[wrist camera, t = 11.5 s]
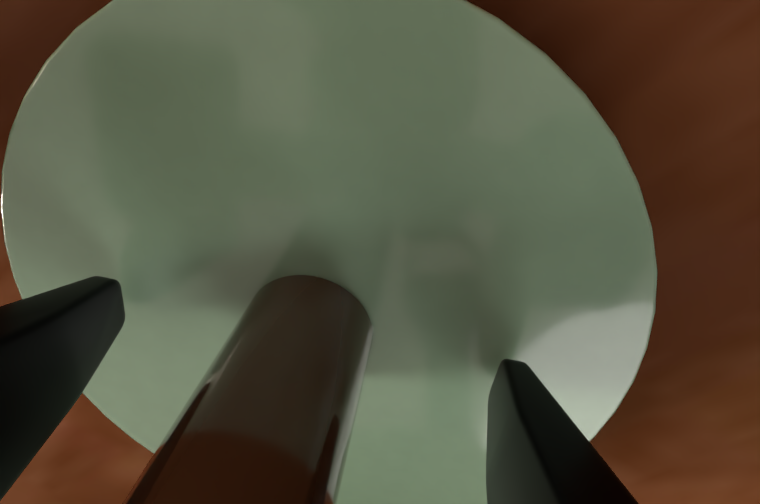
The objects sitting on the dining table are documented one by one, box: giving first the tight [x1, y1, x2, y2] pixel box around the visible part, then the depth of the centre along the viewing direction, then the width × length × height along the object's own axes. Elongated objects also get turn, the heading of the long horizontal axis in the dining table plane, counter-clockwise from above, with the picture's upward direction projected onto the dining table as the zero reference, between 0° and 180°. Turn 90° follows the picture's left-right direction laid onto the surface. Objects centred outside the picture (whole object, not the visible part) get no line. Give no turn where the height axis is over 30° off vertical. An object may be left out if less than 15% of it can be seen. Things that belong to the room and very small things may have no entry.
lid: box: [1, 0, 657, 504], centre depth 7 cm, size 12×12×6 cm
